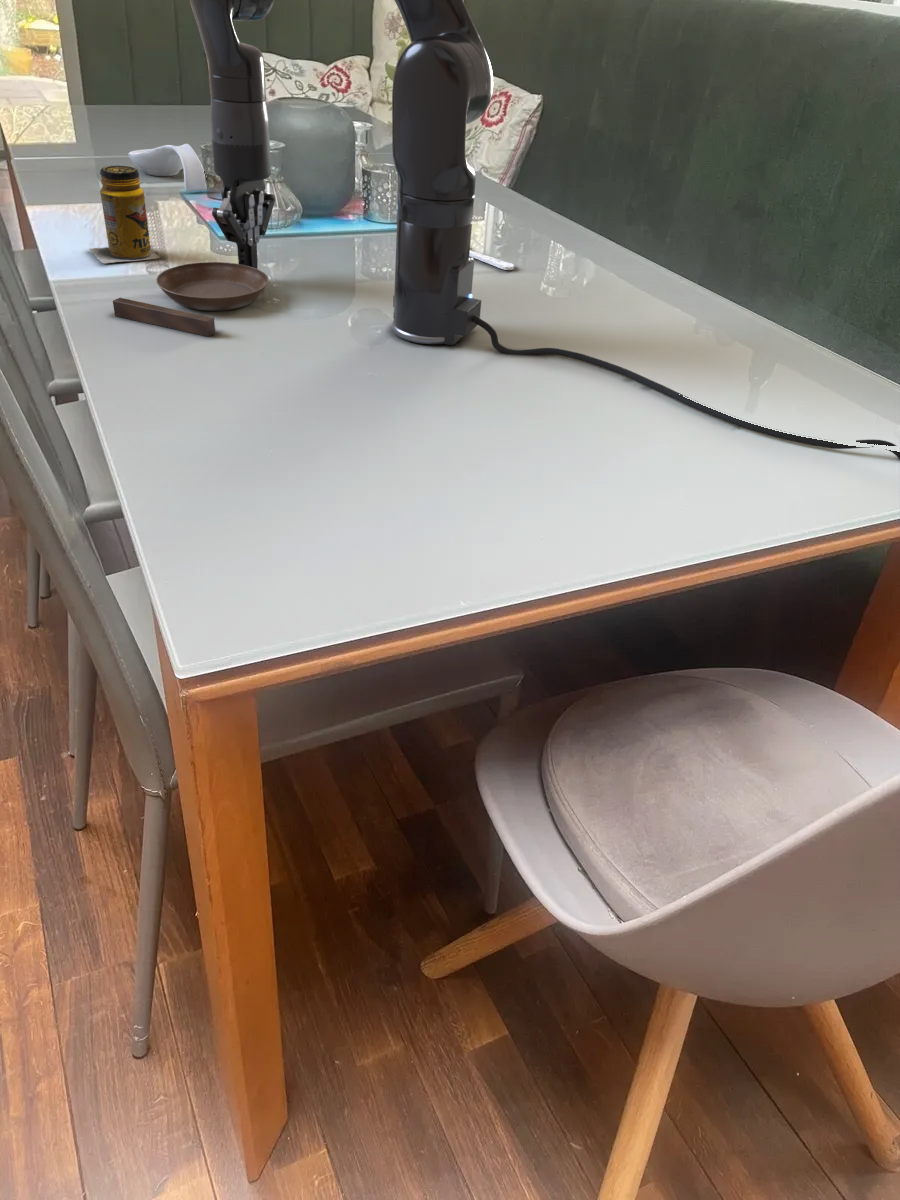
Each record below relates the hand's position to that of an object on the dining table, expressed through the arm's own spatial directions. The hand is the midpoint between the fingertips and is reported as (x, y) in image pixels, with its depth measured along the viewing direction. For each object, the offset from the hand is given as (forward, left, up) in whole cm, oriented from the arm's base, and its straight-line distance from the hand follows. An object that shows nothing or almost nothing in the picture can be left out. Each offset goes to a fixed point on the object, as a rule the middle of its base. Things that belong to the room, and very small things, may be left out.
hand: (248, 270), depth 128 cm
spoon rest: (+45, -46, -2) cm, 65 cm away
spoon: (-23, -31, -2) cm, 39 cm away
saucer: (0, +9, -2) cm, 9 cm away
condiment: (+22, 0, -2) cm, 22 cm away
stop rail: (0, +21, -2) cm, 21 cm away
